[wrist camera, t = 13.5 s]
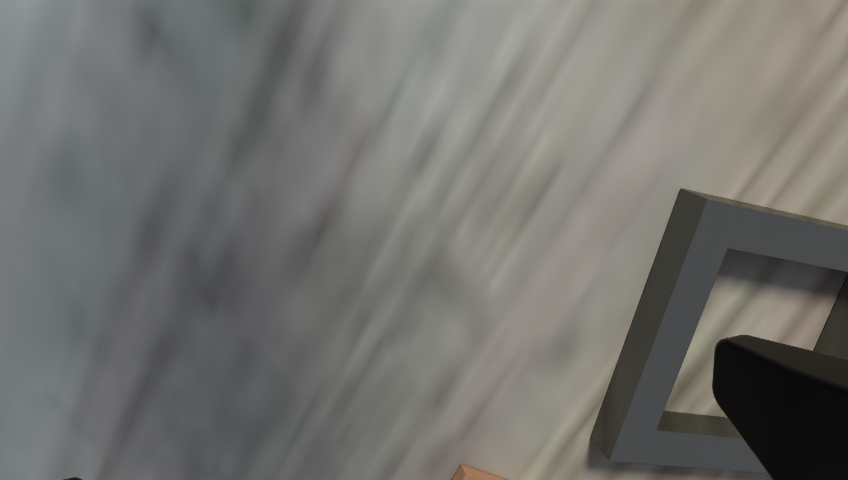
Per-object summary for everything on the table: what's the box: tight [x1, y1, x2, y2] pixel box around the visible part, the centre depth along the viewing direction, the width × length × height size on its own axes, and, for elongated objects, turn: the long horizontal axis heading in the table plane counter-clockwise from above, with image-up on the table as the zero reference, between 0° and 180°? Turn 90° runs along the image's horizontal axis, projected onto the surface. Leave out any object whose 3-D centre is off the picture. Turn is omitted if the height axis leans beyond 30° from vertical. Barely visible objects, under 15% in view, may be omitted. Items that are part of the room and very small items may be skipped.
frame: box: [591, 189, 848, 473], centre depth 24 cm, size 10×10×2 cm
